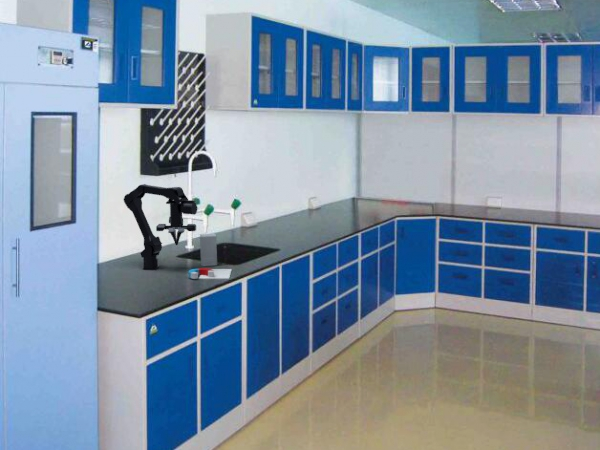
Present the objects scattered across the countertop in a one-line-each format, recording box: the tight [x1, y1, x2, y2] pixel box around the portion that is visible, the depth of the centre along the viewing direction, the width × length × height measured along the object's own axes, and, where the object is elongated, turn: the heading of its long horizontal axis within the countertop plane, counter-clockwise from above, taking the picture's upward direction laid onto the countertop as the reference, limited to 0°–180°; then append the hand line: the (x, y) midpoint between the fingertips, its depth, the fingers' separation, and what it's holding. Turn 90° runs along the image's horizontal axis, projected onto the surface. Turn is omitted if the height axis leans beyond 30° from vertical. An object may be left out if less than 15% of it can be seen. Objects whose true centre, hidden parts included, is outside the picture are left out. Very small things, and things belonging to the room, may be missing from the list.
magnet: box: [188, 267, 214, 280], centre depth 363 cm, size 12×3×10 cm
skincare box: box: [199, 233, 218, 267], centre depth 390 cm, size 8×7×16 cm
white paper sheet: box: [198, 268, 233, 280], centre depth 370 cm, size 14×20×1 cm
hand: (176, 245), depth 374 cm, fingers closed
